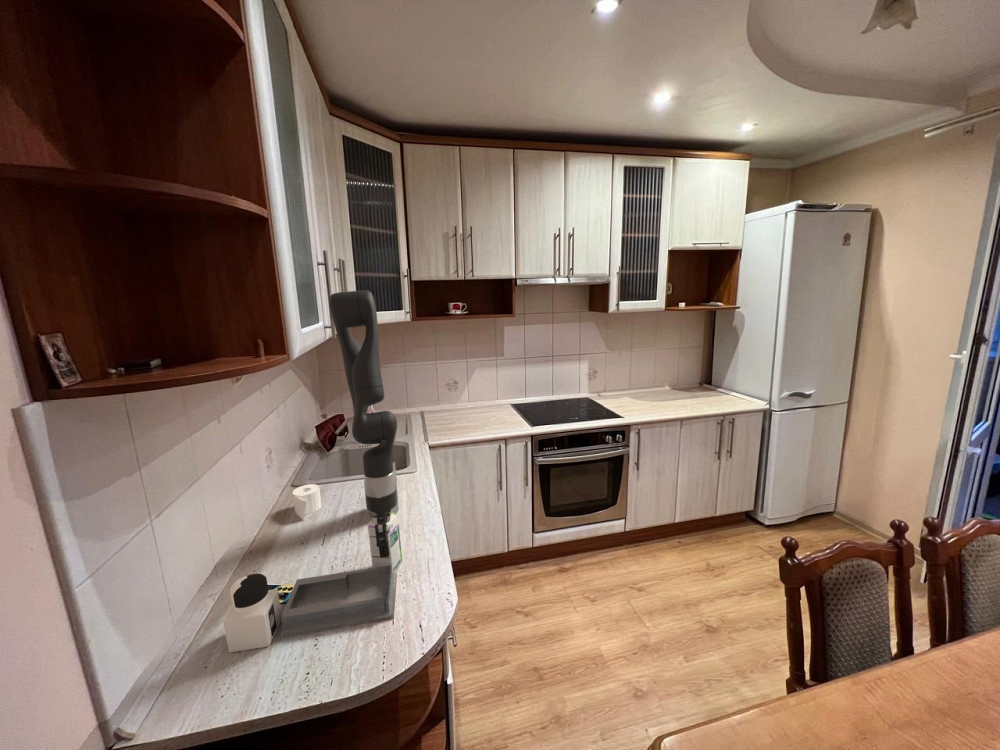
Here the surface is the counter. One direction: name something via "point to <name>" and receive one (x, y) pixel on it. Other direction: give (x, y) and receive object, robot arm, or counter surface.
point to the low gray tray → (340, 600)
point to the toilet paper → (306, 500)
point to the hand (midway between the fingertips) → (385, 547)
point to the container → (252, 614)
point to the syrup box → (393, 544)
